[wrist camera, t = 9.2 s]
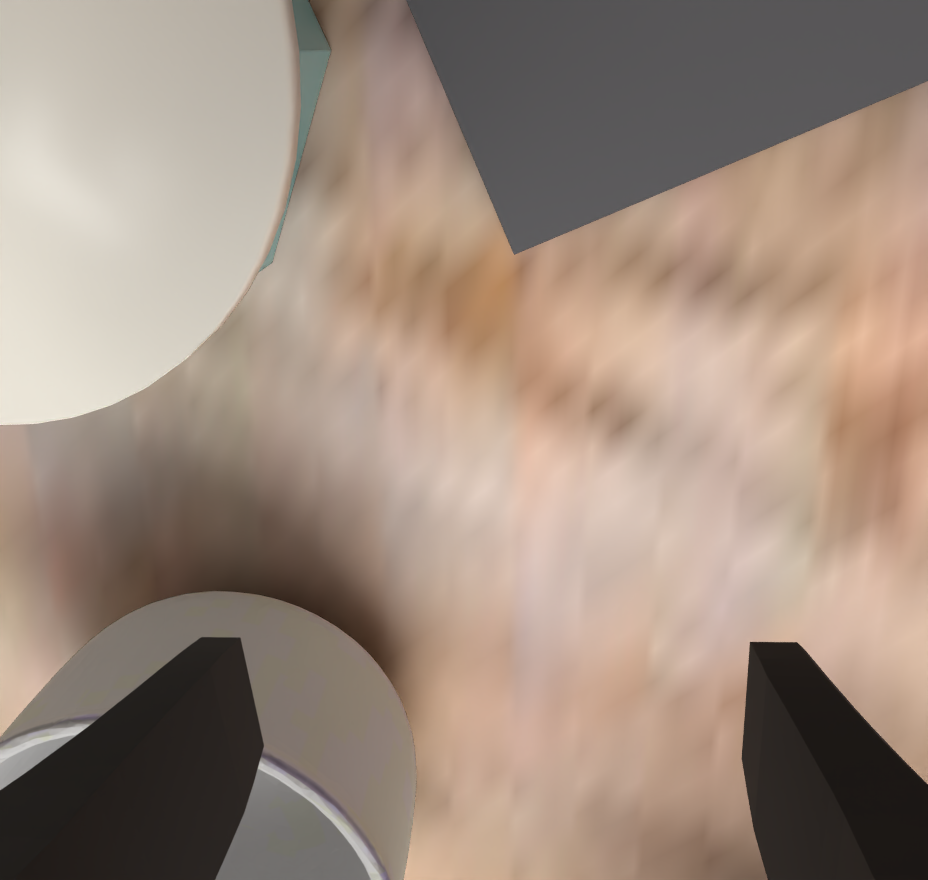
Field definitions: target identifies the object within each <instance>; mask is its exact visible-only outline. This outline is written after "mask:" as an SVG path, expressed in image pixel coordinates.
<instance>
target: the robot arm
mask: <svg viewBox="0 0 928 880" xmlns="http://www.w3.org/2000/svg"><path fill="white" fill-rule="evenodd" d="M263 748H264V742H263V738H262V733H261V729H260V724H259V720H258V715H257V711H256V706H255V701H254V697H253V692H252V688H251V683H250V679H249V674H248V669H247V665H246V660H245V656H244V651H243V647H242V642H241V638H240V637H201V638H199V639H198V640H196V641H195V642H194V643H192V644H191V645H190V646H188V647H187V648H186V649H184V650H183V651H182V652H180V653H179V654H178V655H177V656H175V657H174V658H173V659H172V660H170V661H169V662H168V663H167V664H165V665H164V666H163V667H162V668H161V669H159V670H158V671H157V672H156V673H154V674H153V675H152V676H151V677H149V678H148V679H147V680H146V681H145V682H143V683H142V684H141V685H140V686H138V687H137V688H136V689H135V690H133V691H132V692H131V693H130V694H128V695H127V696H126V697H125V698H123V699H122V700H121V701H120V702H118V703H117V704H116V705H115V706H113V707H112V708H111V709H110V710H108V711H107V712H106V713H105V714H103V715H102V716H101V717H100V718H98V719H97V720H96V721H95V722H93V723H92V724H91V725H89V726H88V727H87V728H86V729H84V730H83V731H82V732H80V733H79V734H77V735H76V736H75V737H73V738H72V739H71V740H69V741H68V742H67V743H65V744H64V745H63V746H61V747H60V748H58V749H57V750H56V751H54V752H53V753H52V754H50V755H49V756H48V757H46V758H45V759H43V760H42V761H41V762H39V763H38V764H37V765H35V766H34V767H33V768H31V769H30V770H29V771H27V772H26V773H24V774H23V775H22V776H20V777H19V778H17V779H16V780H14V781H13V782H11V783H10V784H9V785H7V786H6V787H4V788H3V789H1V790H0V880H215V879H216V877H217V875H218V872H219V870H220V868H221V866H222V863H223V861H224V859H225V856H226V854H227V852H228V850H229V847H230V845H231V843H232V840H233V838H234V836H235V833H236V831H237V829H238V827H239V824H240V822H241V819H242V817H243V815H244V812H245V809H246V806H247V803H248V800H249V796H250V793H251V790H252V787H253V784H254V780H255V777H256V773H257V769H258V766H259V762H260V759H261V755H262V752H263ZM742 762H743V769H744V775H745V781H746V787H747V793H748V799H749V805H750V810H751V816H752V822H753V827H754V832H755V836H756V839H757V843H758V846H759V850H760V853H761V857H762V860H763V864H764V867H765V871H766V874H767V878H768V880H928V784H927V783H926V782H925V781H924V780H923V779H922V778H921V777H920V776H919V775H918V774H917V773H916V772H915V771H914V770H913V769H912V768H911V767H910V766H909V765H908V764H907V763H906V762H905V761H904V760H903V759H902V758H901V757H900V756H899V755H898V754H897V753H896V752H895V751H894V750H893V749H892V748H891V747H890V746H889V745H888V743H887V742H886V741H885V740H884V739H883V738H882V737H881V736H880V735H879V734H878V733H877V732H876V731H875V730H874V729H873V728H872V727H871V726H870V724H869V723H868V722H867V721H866V720H865V719H864V718H863V717H862V716H861V715H860V713H859V712H858V711H857V710H856V709H855V708H854V707H853V706H852V704H851V703H850V702H849V701H848V700H847V699H846V698H845V696H844V695H843V694H842V693H841V692H840V691H839V690H838V688H837V687H836V686H835V685H834V684H833V683H832V681H831V680H830V679H829V678H828V677H827V676H826V674H825V673H824V672H823V671H822V670H821V668H820V667H819V666H818V665H817V664H816V663H815V661H814V660H813V659H812V658H811V657H810V655H809V654H808V653H807V652H806V651H805V650H804V649H803V648H802V647H801V646H800V645H799V644H798V643H797V642H750V651H749V665H748V679H747V693H746V707H745V721H744V735H743V749H742Z"/></svg>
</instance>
